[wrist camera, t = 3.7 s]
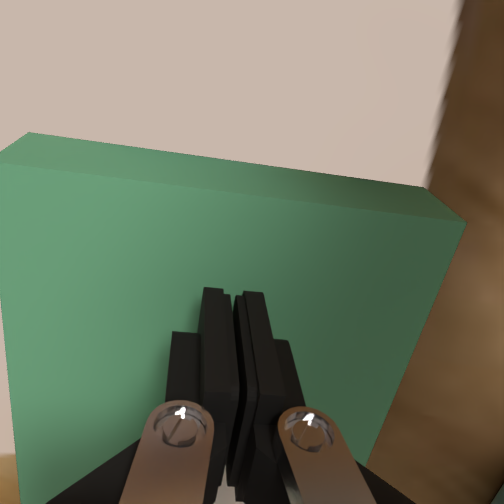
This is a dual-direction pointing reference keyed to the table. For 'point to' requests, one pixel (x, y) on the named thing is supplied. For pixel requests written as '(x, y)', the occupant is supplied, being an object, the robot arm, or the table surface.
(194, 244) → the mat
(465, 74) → the table surface
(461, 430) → the table surface
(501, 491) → the flower pot
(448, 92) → the table surface
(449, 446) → the table surface
